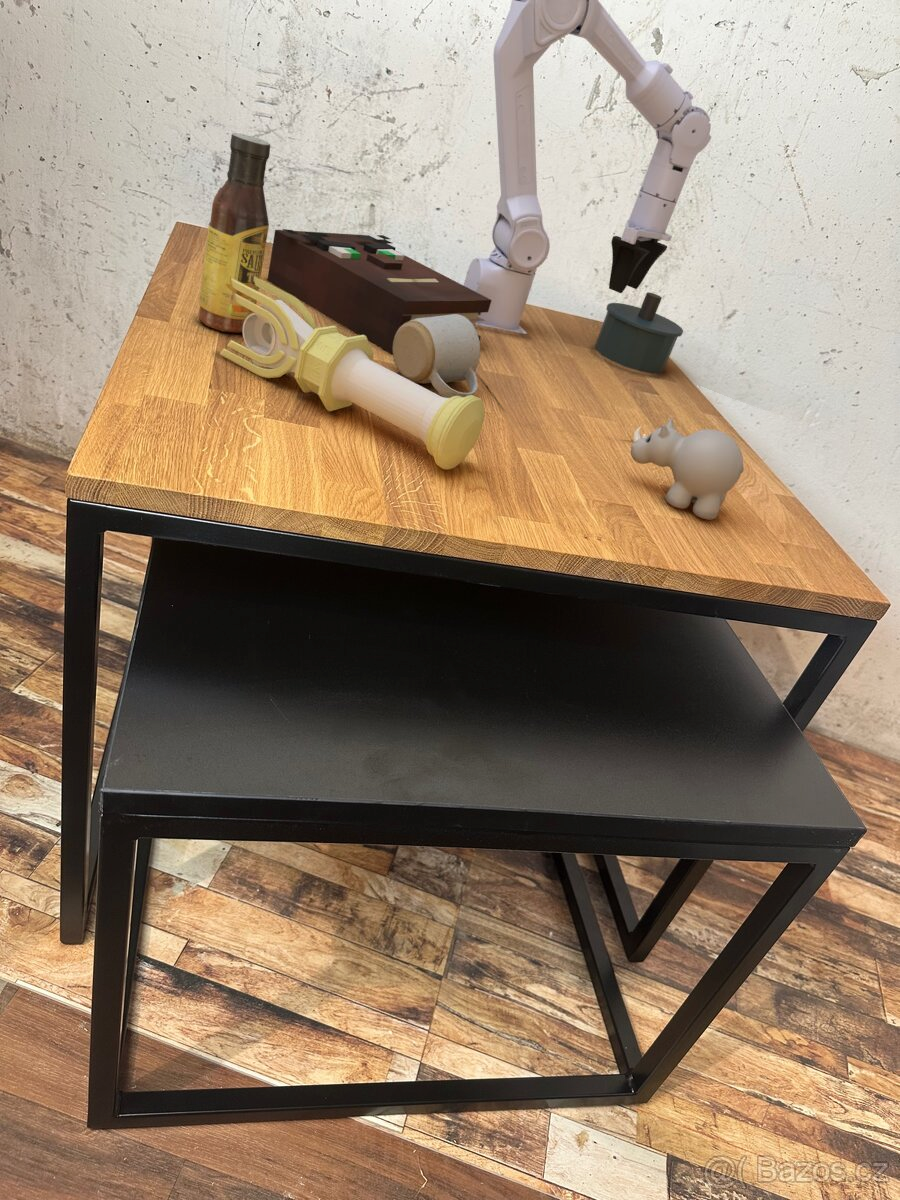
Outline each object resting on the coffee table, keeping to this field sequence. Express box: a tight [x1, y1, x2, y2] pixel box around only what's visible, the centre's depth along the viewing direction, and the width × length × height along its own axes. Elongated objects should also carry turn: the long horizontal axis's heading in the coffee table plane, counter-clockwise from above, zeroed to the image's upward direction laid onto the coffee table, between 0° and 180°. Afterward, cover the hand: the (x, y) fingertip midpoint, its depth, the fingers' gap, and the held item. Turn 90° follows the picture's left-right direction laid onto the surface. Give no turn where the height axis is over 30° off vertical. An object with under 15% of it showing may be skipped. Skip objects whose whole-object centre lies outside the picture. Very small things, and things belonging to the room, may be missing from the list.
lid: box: [605, 291, 684, 338], centre depth 132 cm, size 12×12×5 cm
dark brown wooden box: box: [266, 228, 492, 356], centre depth 118 cm, size 19×8×30 cm
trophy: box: [219, 276, 486, 470], centre depth 87 cm, size 8×8×30 cm
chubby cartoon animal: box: [630, 418, 745, 521], centre depth 92 cm, size 7×12×8 cm, turn 62°
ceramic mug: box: [392, 314, 481, 398], centre depth 101 cm, size 11×8×8 cm
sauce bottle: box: [198, 132, 271, 334], centre depth 95 cm, size 7×6×20 cm
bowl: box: [594, 310, 678, 374], centre depth 134 cm, size 11×11×6 cm
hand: (623, 288), depth 134 cm, fingers open, 7 cm apart
